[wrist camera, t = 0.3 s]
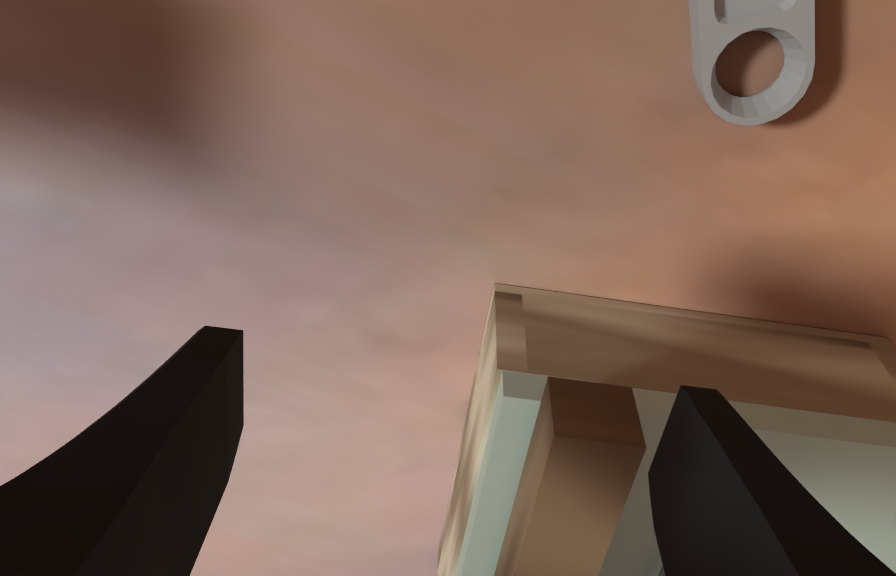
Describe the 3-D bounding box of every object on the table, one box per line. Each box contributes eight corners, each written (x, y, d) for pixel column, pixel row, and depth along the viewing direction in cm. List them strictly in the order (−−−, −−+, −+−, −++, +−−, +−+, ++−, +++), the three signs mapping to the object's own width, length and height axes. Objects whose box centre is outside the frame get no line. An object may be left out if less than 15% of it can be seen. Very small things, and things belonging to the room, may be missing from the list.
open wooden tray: (751, 589, 31) (784, 690, 28) (438, 551, 31) (433, 649, 27) (888, 337, 25) (952, 429, 21) (494, 283, 24) (497, 368, 21)
